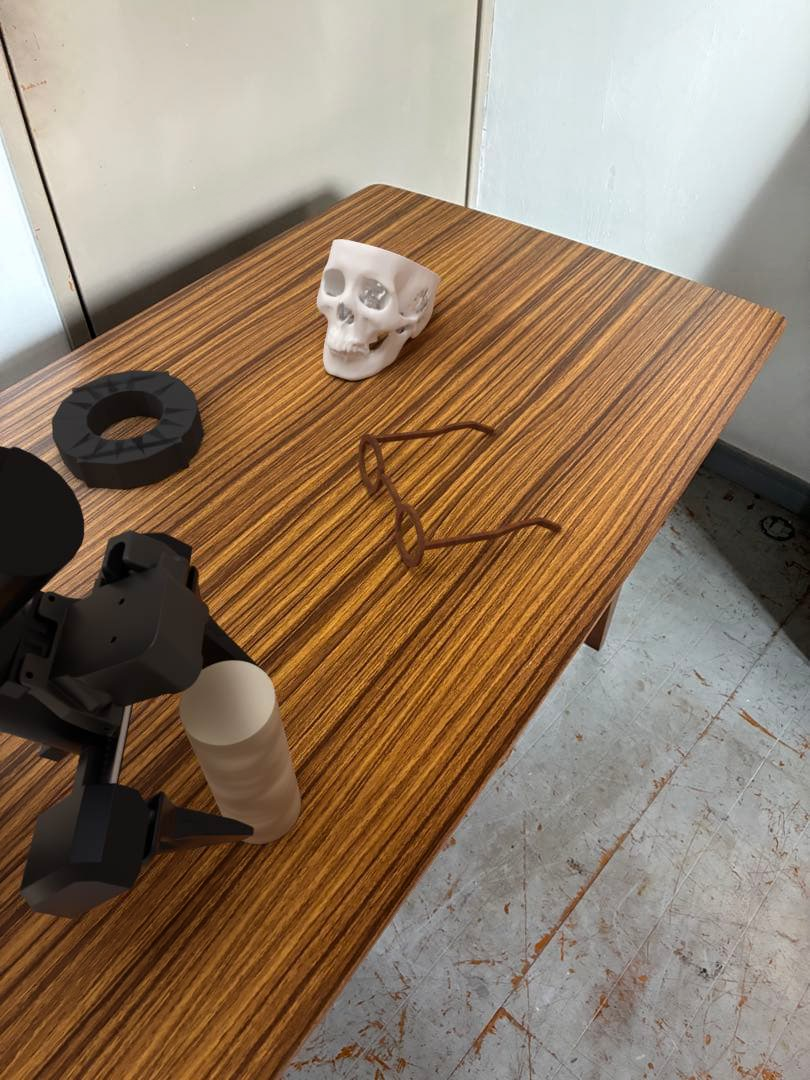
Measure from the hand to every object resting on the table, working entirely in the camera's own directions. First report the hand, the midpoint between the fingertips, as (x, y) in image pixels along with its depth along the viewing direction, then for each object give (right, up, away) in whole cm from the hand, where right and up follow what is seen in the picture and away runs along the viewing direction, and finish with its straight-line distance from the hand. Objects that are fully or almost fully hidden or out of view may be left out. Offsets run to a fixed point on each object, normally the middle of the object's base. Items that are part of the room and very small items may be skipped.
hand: (255, 751), depth 45 cm
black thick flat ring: (-16, +21, +27) cm, 38 cm away
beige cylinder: (-1, -5, +6) cm, 7 cm away
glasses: (+12, +15, +23) cm, 30 cm away
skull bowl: (+5, +32, +37) cm, 49 cm away
